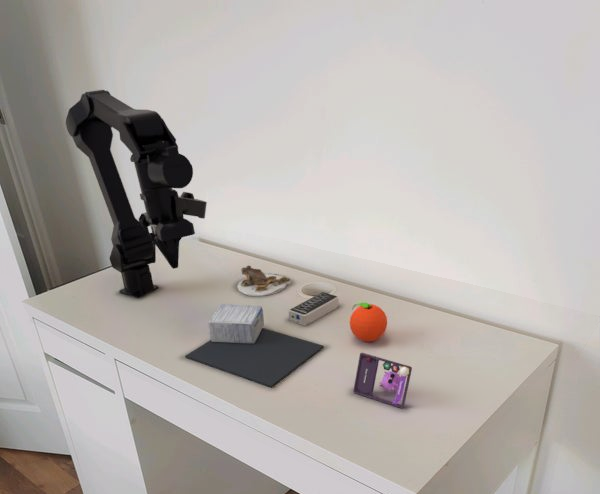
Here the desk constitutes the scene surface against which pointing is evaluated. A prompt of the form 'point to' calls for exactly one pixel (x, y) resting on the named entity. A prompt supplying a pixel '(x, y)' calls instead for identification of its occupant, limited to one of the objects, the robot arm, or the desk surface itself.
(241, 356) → the mouse mat
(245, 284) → the frog figurine
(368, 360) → the game card
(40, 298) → the desk surface
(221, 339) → the medicine box
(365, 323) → the clementine
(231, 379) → the desk surface
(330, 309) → the multiport hub
